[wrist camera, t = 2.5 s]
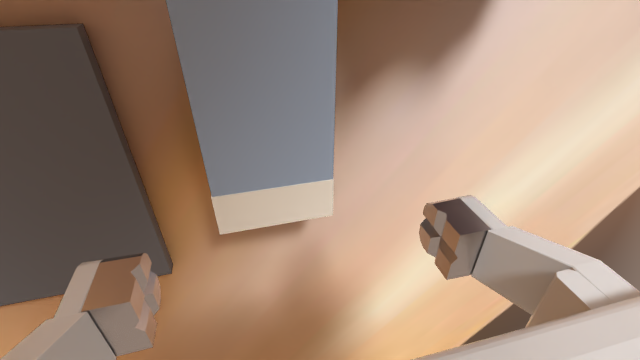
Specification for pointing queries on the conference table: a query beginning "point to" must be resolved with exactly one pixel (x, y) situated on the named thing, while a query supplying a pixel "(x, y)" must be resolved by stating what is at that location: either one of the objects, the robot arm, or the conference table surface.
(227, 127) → the block
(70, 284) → the robot arm
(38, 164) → the mat
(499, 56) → the conference table surface
